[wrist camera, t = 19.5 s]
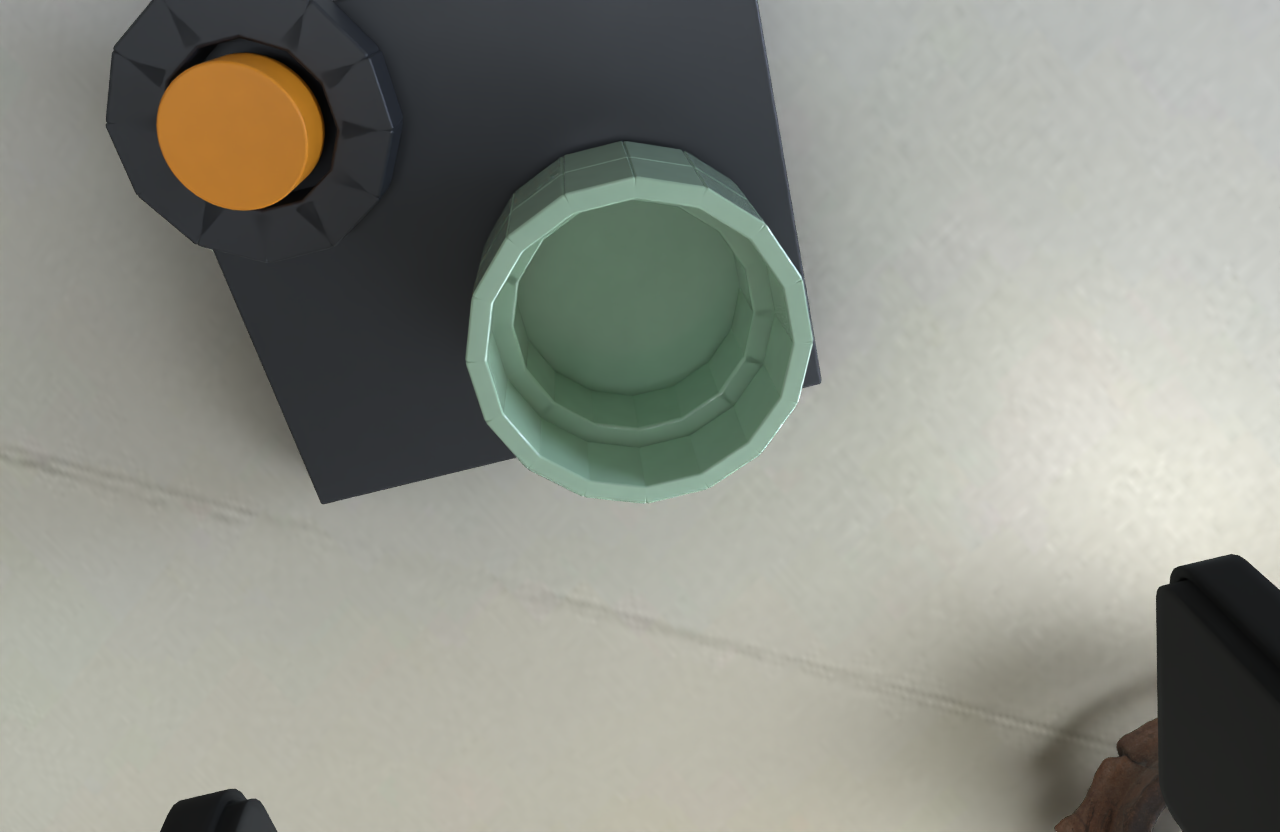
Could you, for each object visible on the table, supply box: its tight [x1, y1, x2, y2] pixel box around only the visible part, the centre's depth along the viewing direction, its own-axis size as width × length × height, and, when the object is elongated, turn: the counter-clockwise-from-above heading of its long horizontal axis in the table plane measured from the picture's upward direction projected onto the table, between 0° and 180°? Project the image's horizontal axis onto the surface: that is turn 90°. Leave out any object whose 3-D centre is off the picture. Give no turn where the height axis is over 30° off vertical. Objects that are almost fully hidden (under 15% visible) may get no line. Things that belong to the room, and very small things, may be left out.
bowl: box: [465, 141, 813, 504], centre depth 24 cm, size 7×7×5 cm
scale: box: [106, 0, 821, 504], centre depth 25 cm, size 14×13×3 cm
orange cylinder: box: [156, 53, 325, 211], centre depth 22 cm, size 3×3×2 cm
